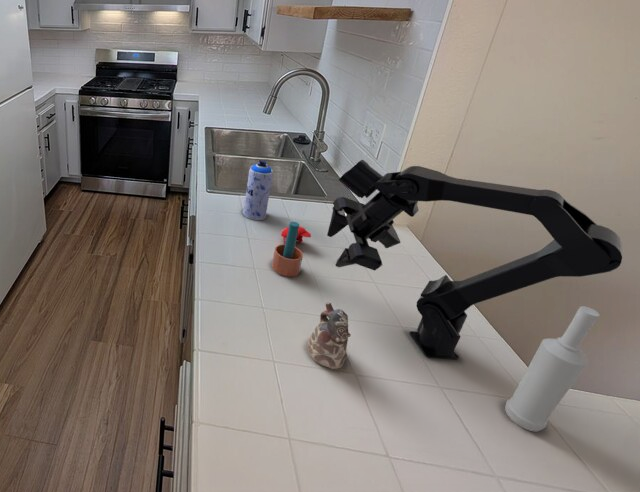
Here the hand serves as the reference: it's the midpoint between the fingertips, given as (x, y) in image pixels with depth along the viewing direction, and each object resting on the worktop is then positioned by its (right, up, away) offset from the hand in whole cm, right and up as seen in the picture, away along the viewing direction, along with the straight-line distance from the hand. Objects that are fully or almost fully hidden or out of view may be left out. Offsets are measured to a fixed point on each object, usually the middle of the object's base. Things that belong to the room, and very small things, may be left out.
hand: (332, 250), depth 94 cm
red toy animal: (0, -3, +22) cm, 23 cm away
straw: (-7, -7, +12) cm, 15 cm away
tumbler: (-7, -8, +12) cm, 16 cm away
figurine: (-9, -19, -14) cm, 25 cm away
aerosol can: (-7, +3, +39) cm, 39 cm away
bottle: (+20, -24, -26) cm, 41 cm away
